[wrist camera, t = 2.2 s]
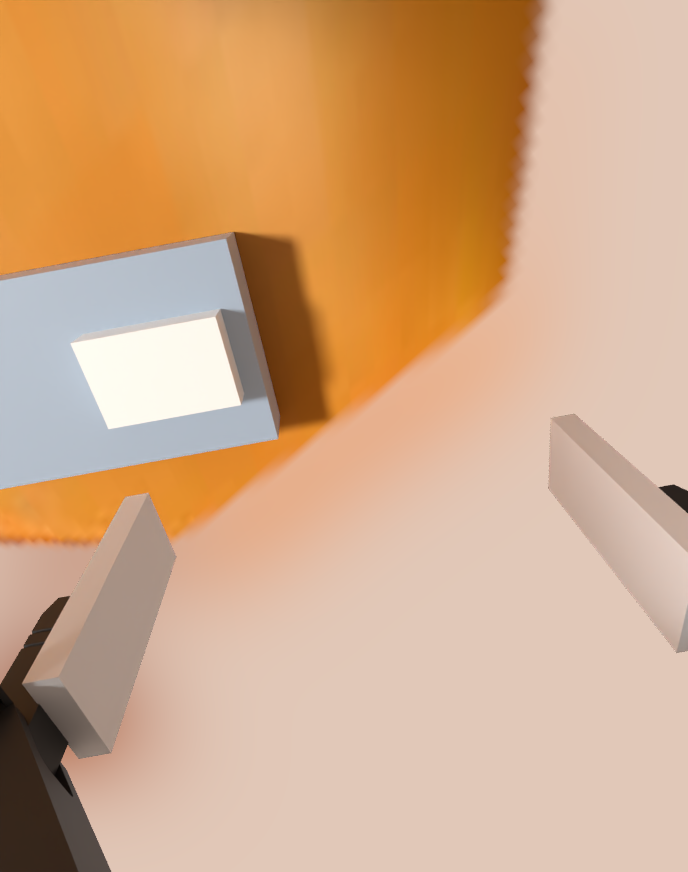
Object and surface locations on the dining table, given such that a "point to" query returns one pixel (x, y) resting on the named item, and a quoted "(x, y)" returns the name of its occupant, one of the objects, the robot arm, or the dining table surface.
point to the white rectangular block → (160, 369)
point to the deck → (106, 309)
